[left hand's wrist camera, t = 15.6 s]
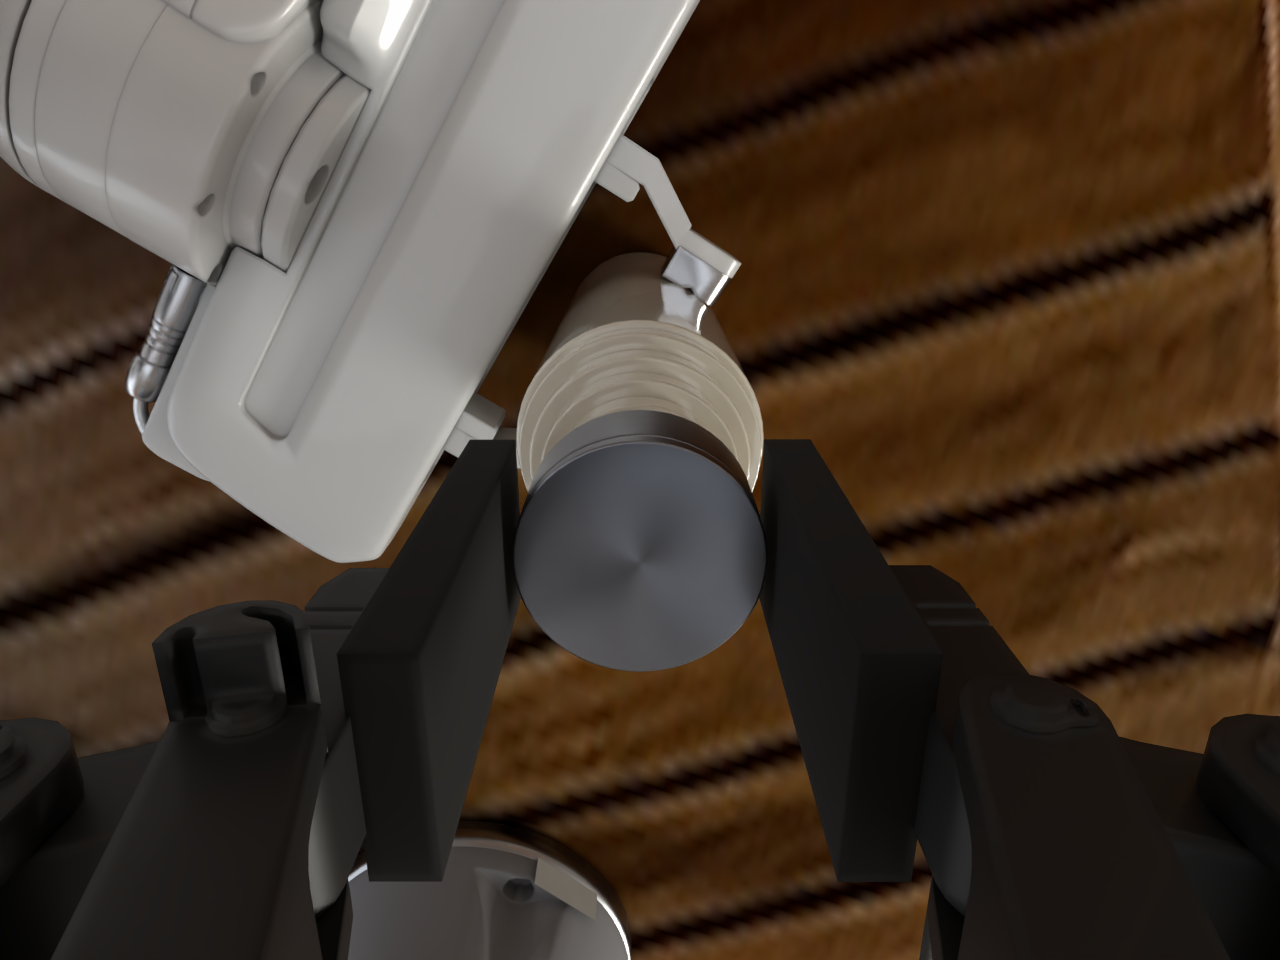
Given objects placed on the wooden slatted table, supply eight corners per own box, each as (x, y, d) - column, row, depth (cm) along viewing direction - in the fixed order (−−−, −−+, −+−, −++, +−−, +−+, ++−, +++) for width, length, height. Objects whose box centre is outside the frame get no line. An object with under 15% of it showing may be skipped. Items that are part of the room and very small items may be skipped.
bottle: (574, 397, 32) (489, 698, 14) (563, 255, 31) (449, 391, 12) (712, 390, 32) (807, 685, 14) (709, 248, 31) (813, 373, 12)
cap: (798, 534, 14) (818, 581, 13) (622, 656, 15) (620, 714, 14) (659, 360, 13) (662, 388, 12) (479, 500, 14) (458, 544, 13)
